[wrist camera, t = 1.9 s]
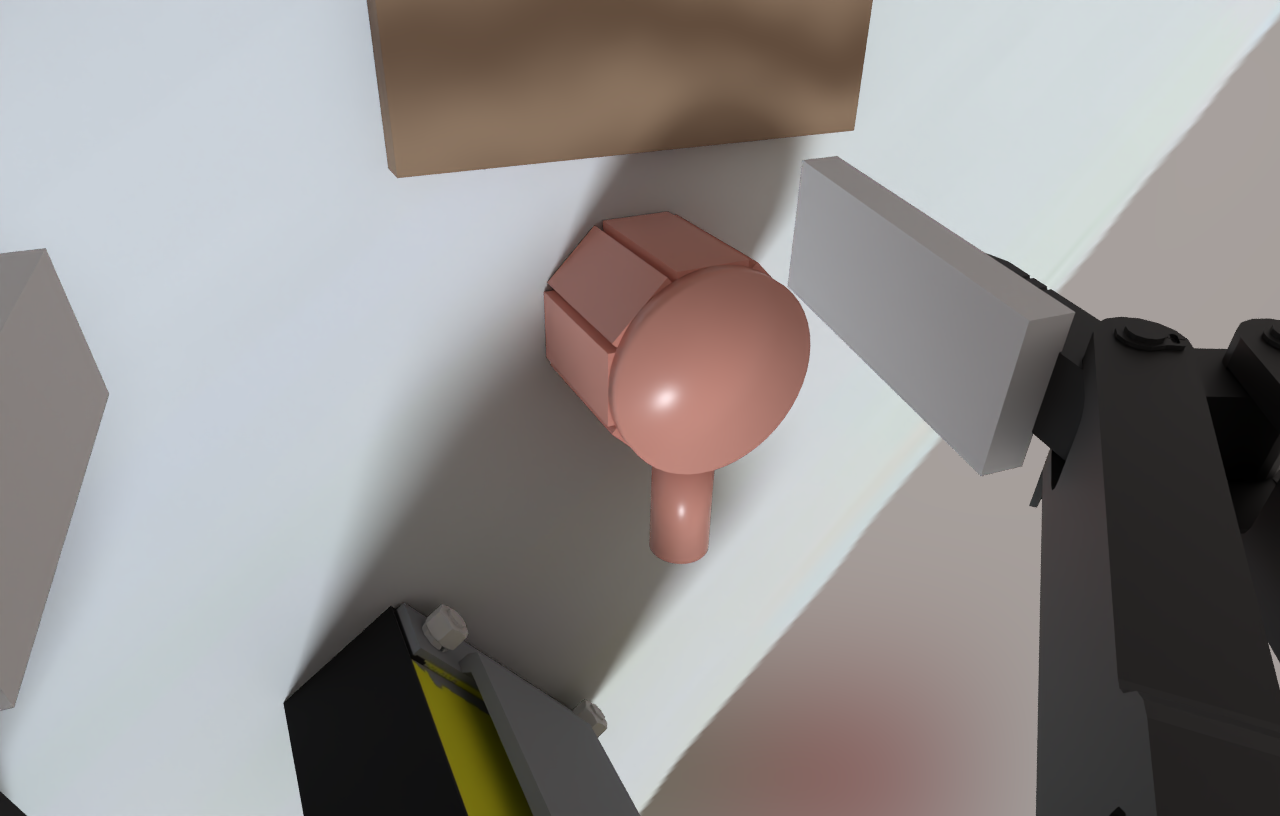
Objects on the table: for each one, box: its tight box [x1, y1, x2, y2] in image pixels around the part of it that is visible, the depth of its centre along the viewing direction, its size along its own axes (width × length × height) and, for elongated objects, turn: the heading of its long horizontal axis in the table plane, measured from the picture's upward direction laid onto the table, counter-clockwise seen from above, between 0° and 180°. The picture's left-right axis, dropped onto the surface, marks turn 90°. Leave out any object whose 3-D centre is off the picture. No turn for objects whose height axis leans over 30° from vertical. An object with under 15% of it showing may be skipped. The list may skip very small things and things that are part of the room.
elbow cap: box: [544, 212, 810, 564], centre depth 40 cm, size 16×9×8 cm, turn 0°
